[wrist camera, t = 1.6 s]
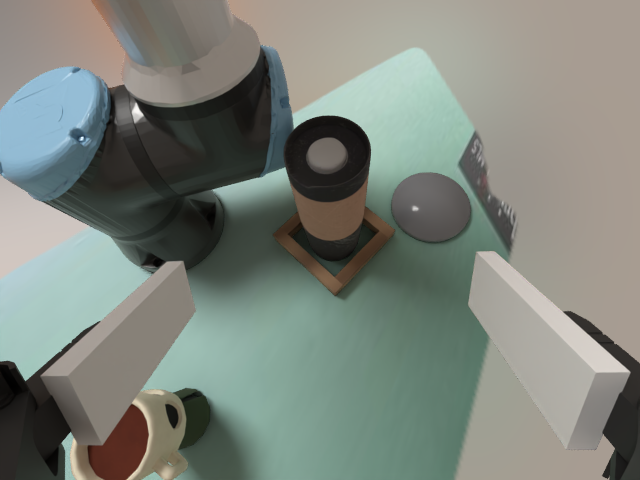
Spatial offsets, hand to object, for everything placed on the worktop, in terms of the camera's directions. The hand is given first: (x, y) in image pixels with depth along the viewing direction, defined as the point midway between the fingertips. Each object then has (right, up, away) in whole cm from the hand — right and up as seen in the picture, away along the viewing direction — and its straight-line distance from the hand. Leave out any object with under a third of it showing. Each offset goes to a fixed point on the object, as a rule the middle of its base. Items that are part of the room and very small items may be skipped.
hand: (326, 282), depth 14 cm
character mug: (-16, -19, +23) cm, 35 cm away
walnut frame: (+2, +2, +30) cm, 30 cm away
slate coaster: (+16, +7, +31) cm, 35 cm away
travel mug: (+2, +2, +30) cm, 31 cm away
